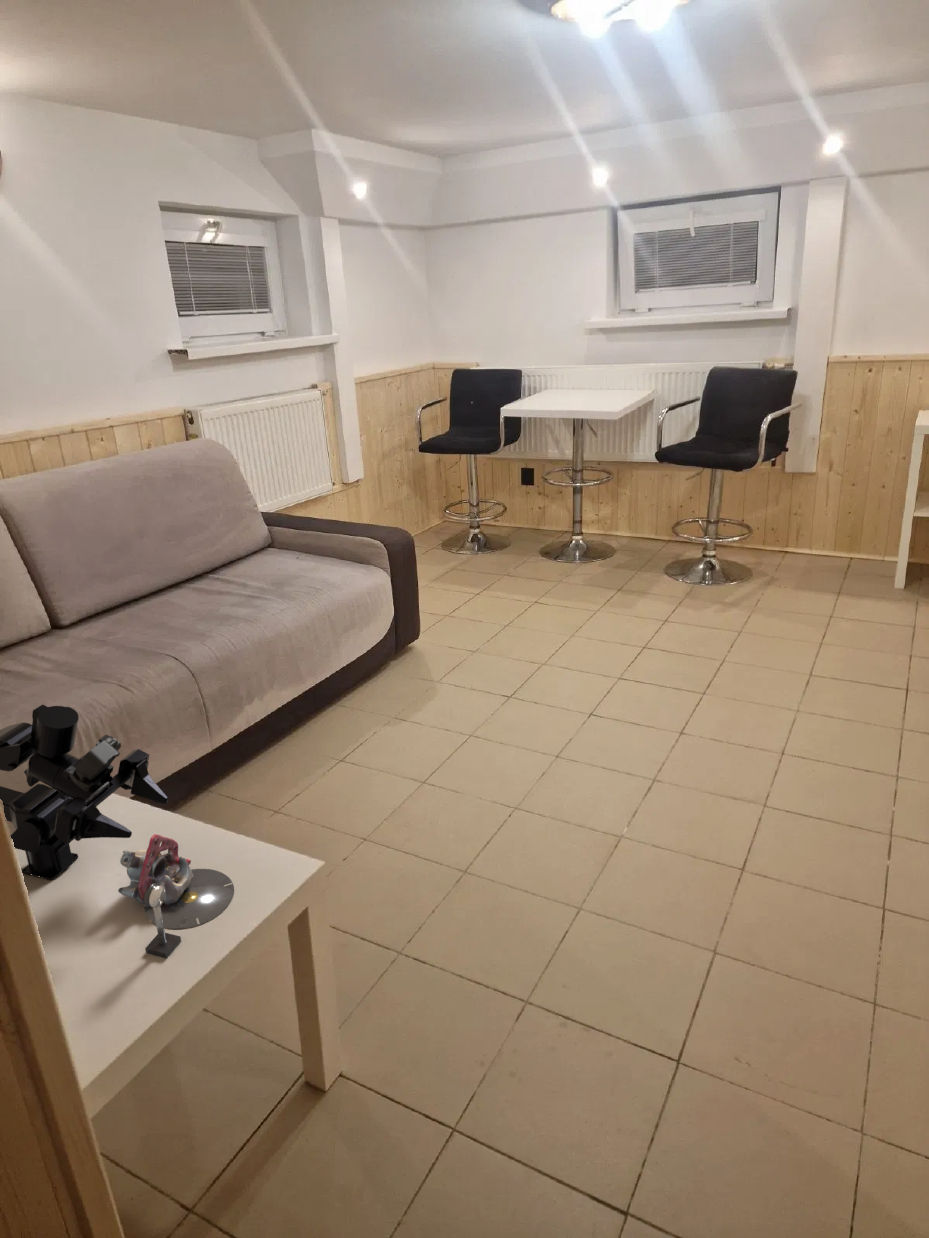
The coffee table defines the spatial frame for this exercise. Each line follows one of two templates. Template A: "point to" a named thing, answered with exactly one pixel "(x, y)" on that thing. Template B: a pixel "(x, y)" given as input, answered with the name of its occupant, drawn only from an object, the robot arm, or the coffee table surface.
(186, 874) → the brake caliper
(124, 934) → the coffee table surface
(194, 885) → the truing plate
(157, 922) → the stand
